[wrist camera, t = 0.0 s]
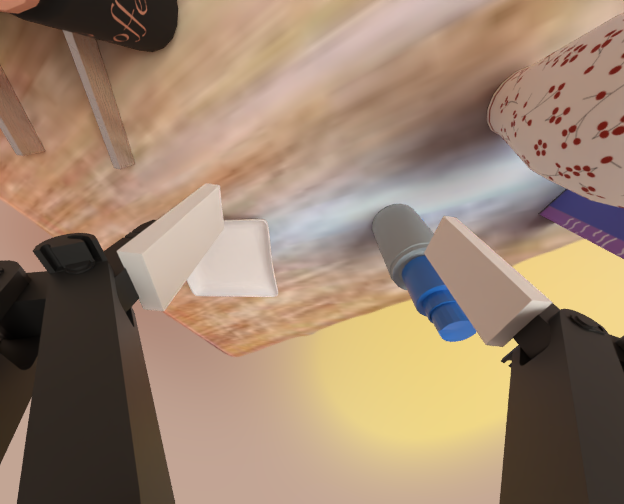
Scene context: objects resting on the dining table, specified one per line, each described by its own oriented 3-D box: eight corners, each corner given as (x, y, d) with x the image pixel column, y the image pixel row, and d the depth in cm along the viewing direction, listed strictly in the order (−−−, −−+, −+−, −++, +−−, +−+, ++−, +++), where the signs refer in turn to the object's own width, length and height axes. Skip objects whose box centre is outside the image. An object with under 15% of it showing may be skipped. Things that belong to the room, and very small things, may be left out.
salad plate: (199, 287, 57) (193, 297, 54) (166, 212, 45) (156, 219, 42) (280, 288, 56) (278, 298, 53) (270, 211, 44) (266, 219, 41)
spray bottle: (417, 199, 41) (515, 299, 21) (416, 238, 46) (494, 350, 26) (369, 209, 43) (416, 312, 22) (373, 246, 48) (415, 358, 27)
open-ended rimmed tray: (-58, -28, 26) (-103, -44, 24) (82, -3, 27) (54, -15, 24) (39, 150, 38) (16, 154, 35) (135, 163, 39) (120, 169, 36)
